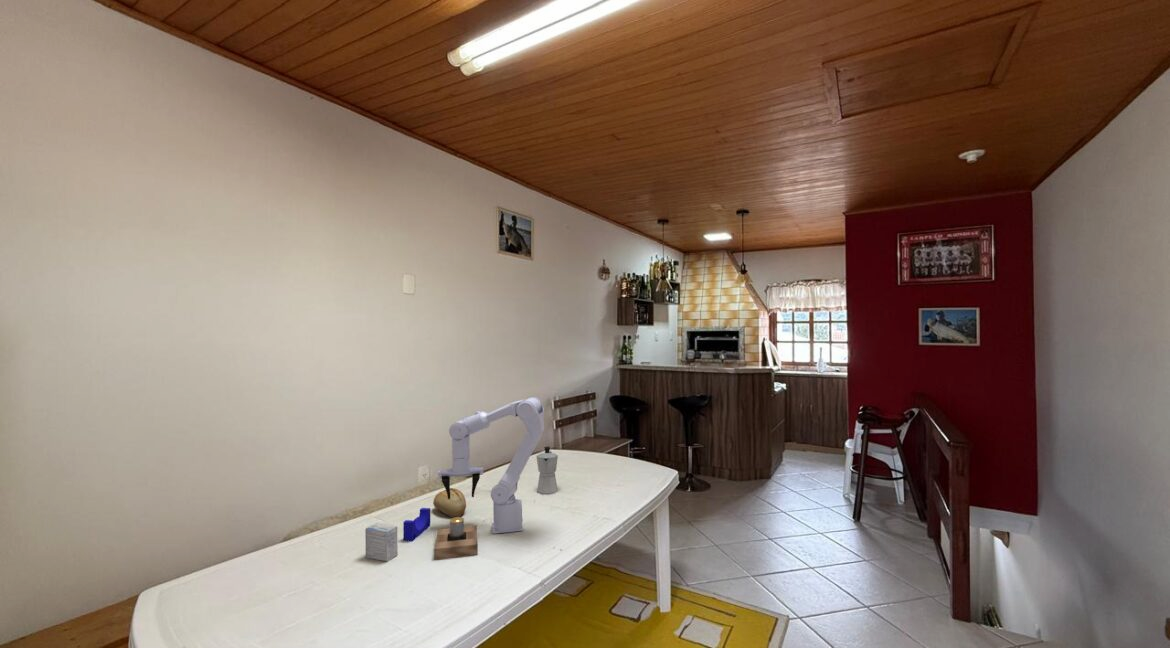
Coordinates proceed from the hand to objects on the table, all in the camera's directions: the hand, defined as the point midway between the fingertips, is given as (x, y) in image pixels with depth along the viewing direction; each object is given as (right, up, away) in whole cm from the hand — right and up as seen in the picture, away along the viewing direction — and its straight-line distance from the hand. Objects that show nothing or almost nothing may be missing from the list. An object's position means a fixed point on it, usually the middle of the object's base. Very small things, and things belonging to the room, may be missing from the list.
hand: (461, 497), depth 158 cm
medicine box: (-17, -9, -22) cm, 29 cm away
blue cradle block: (-13, -10, -6) cm, 17 cm away
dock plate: (+3, -9, -16) cm, 19 cm away
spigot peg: (+3, -9, -16) cm, 18 cm away
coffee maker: (+26, -10, +35) cm, 45 cm away
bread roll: (-7, -10, +12) cm, 17 cm away
